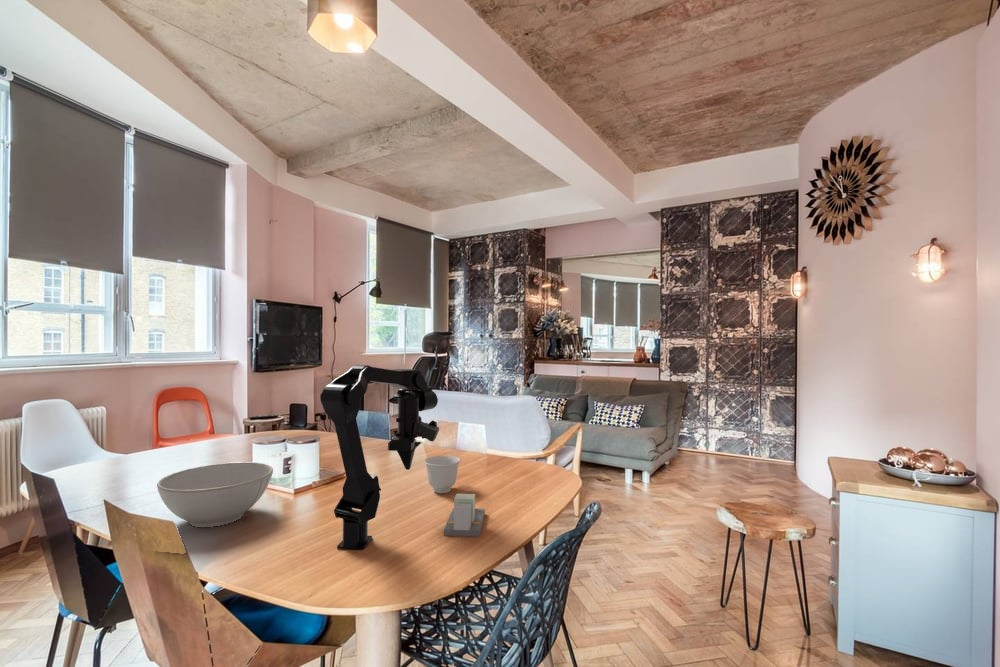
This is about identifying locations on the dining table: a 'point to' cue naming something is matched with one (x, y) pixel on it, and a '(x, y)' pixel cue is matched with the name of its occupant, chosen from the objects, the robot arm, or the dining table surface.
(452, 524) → the board
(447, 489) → the teacup
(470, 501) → the sleeve
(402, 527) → the dining table surface
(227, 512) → the decorative bowl
